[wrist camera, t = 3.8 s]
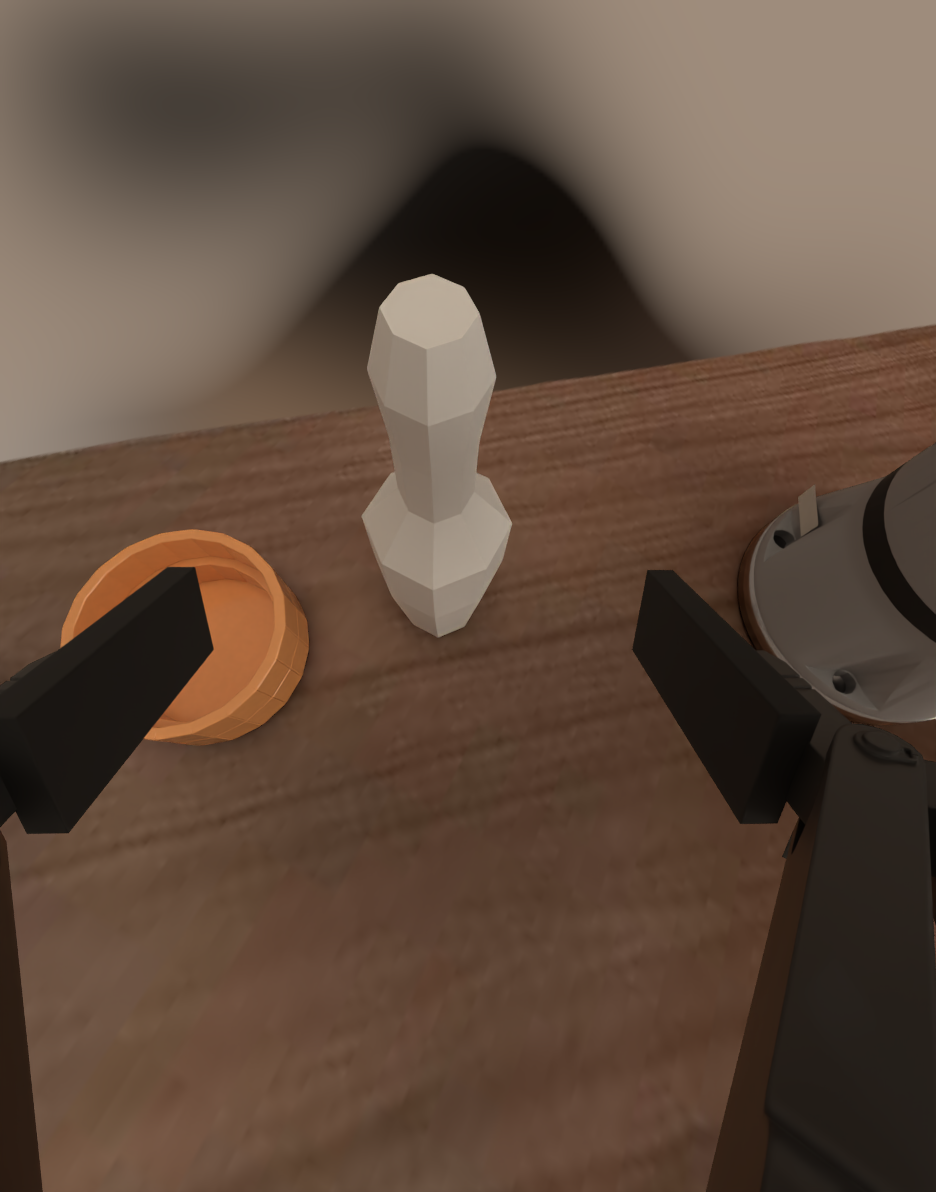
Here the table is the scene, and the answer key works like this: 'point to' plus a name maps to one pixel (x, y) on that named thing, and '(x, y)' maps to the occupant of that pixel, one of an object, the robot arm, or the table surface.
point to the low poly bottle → (434, 455)
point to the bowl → (213, 631)
